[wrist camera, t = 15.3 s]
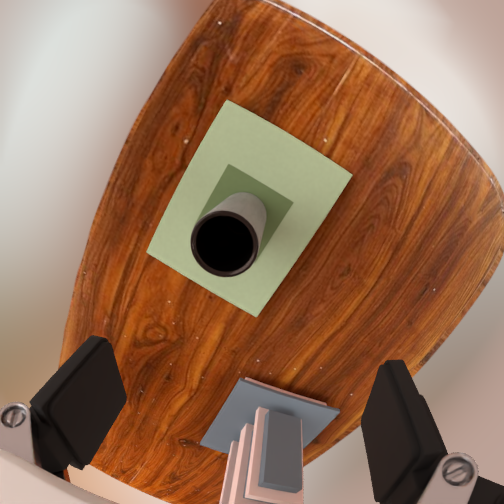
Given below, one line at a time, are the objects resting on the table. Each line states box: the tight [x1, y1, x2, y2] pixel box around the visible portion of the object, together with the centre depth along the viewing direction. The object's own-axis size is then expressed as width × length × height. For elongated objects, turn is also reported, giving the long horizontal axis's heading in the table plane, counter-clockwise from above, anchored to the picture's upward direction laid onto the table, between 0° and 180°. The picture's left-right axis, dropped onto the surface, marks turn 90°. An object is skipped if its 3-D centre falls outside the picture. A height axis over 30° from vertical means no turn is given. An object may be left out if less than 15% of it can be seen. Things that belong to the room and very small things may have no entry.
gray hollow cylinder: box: [190, 192, 266, 277], centre depth 24 cm, size 4×4×10 cm
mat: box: [147, 100, 352, 317], centre depth 29 cm, size 18×14×1 cm
